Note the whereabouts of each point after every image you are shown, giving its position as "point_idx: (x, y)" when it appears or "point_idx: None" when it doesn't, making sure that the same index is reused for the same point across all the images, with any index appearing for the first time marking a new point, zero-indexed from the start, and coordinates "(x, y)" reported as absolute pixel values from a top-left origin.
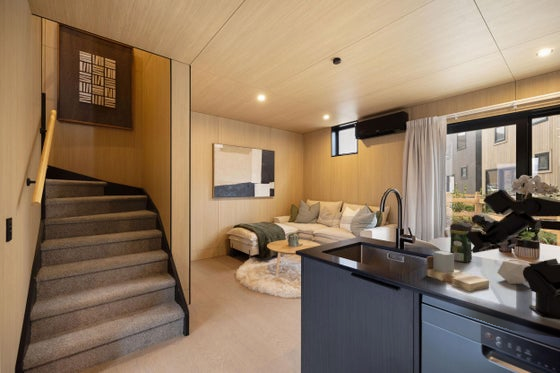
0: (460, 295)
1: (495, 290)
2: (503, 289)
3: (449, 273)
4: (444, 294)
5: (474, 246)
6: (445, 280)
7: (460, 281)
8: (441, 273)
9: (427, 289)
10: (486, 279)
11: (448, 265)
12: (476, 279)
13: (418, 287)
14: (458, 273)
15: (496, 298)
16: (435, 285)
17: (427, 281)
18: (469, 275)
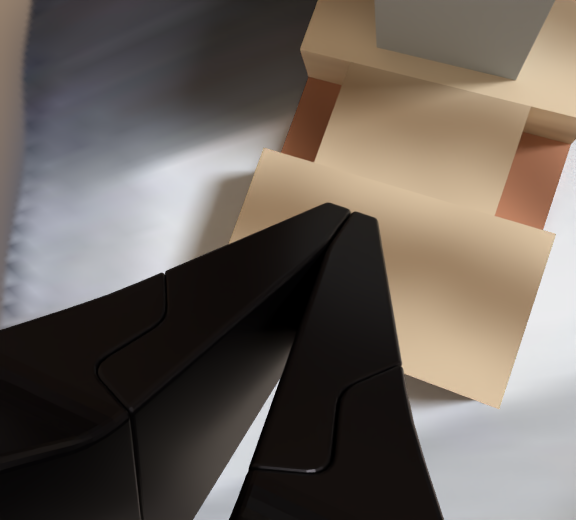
0: (87, 279)
1: (435, 456)
2: (534, 510)
3: (393, 79)
4: (27, 199)
5: (219, 258)
6: (324, 97)
7: (239, 221)
8: (328, 33)
9: (35, 91)
10: (503, 385)
11: (429, 14)
12: (409, 312)
13: (28, 37)
14: (476, 134)
15: (226, 486)
16: (159, 91)
17: (203, 17)
18: (501, 228)
